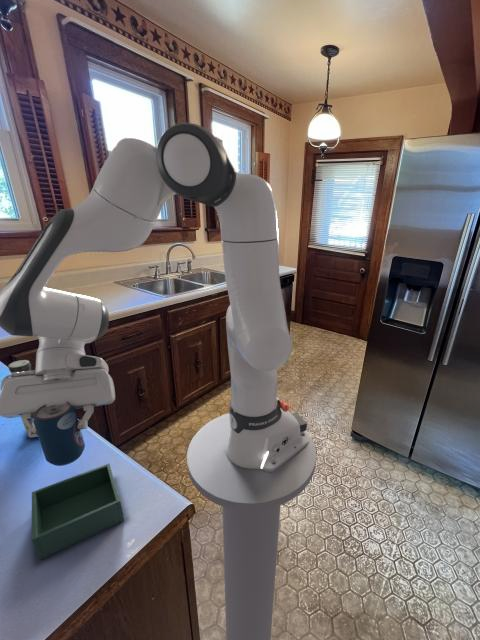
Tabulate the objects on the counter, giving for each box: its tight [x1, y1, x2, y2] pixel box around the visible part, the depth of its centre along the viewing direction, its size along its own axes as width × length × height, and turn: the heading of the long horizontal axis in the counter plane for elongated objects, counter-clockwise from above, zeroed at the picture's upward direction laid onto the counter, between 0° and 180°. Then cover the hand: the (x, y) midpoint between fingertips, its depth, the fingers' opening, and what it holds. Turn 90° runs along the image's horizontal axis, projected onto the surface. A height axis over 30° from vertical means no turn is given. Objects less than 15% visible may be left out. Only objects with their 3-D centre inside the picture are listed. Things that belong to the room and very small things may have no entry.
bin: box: [31, 463, 125, 561], centre depth 59 cm, size 13×11×5 cm
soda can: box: [34, 401, 86, 467], centre depth 63 cm, size 7×7×12 cm
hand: (59, 432), depth 62 cm, fingers closed on soda can, 7 cm apart
